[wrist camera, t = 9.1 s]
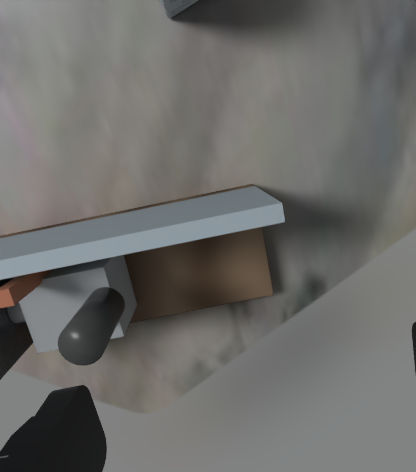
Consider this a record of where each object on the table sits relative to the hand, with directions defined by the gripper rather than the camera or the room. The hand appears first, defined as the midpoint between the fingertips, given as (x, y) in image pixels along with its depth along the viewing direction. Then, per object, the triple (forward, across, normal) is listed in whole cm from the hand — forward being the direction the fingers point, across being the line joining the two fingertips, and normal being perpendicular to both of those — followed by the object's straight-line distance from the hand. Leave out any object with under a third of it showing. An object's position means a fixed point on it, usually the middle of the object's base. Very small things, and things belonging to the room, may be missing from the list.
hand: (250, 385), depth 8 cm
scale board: (+19, +8, -2) cm, 20 cm away
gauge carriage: (+18, +12, +2) cm, 22 cm away
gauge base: (+20, +8, +2) cm, 22 cm away
